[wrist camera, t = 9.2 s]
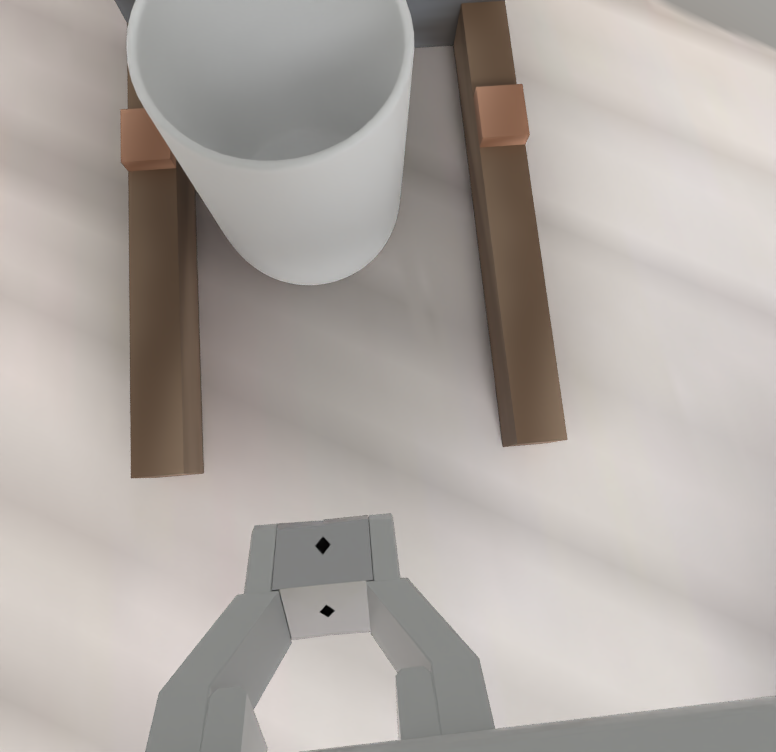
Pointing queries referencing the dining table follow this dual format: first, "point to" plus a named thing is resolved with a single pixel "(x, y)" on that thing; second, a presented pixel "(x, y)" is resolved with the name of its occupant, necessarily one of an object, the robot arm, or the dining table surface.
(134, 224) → the guide channel
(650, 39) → the dining table surface
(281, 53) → the mug
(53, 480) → the dining table surface
